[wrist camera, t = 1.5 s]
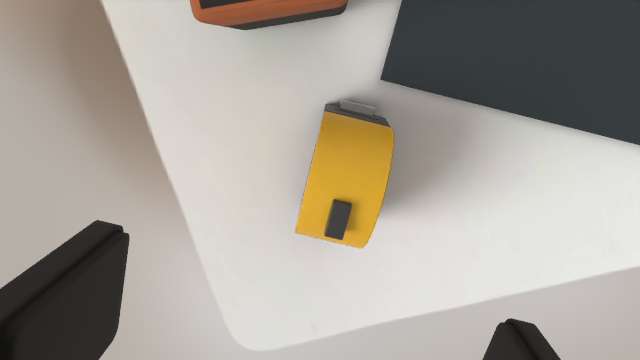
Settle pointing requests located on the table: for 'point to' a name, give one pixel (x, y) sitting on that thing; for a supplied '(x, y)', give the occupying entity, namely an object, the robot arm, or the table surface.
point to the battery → (263, 11)
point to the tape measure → (347, 175)
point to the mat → (526, 58)
